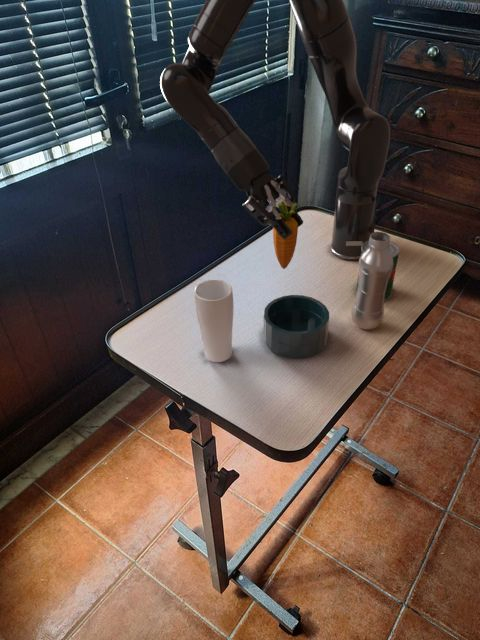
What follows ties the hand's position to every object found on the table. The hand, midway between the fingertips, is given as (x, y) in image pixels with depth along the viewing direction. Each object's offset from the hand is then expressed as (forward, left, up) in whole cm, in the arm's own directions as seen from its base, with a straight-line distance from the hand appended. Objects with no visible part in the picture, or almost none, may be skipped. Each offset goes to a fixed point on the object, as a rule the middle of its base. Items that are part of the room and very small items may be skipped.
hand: (294, 230), depth 103 cm
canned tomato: (-17, +7, -17) cm, 25 cm away
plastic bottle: (-8, +15, -17) cm, 24 cm away
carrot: (+1, -2, -9) cm, 10 cm away
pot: (+7, +11, -17) cm, 21 cm away
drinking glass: (+22, +8, -17) cm, 29 cm away
